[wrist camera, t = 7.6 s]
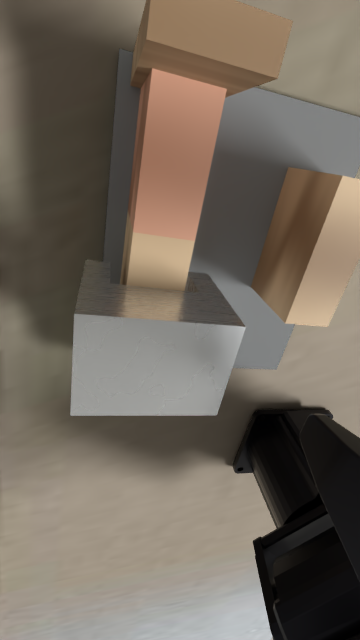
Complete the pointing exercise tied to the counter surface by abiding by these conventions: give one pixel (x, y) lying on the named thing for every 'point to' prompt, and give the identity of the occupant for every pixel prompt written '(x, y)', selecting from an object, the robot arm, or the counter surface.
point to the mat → (237, 193)
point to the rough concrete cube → (151, 347)
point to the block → (197, 151)
